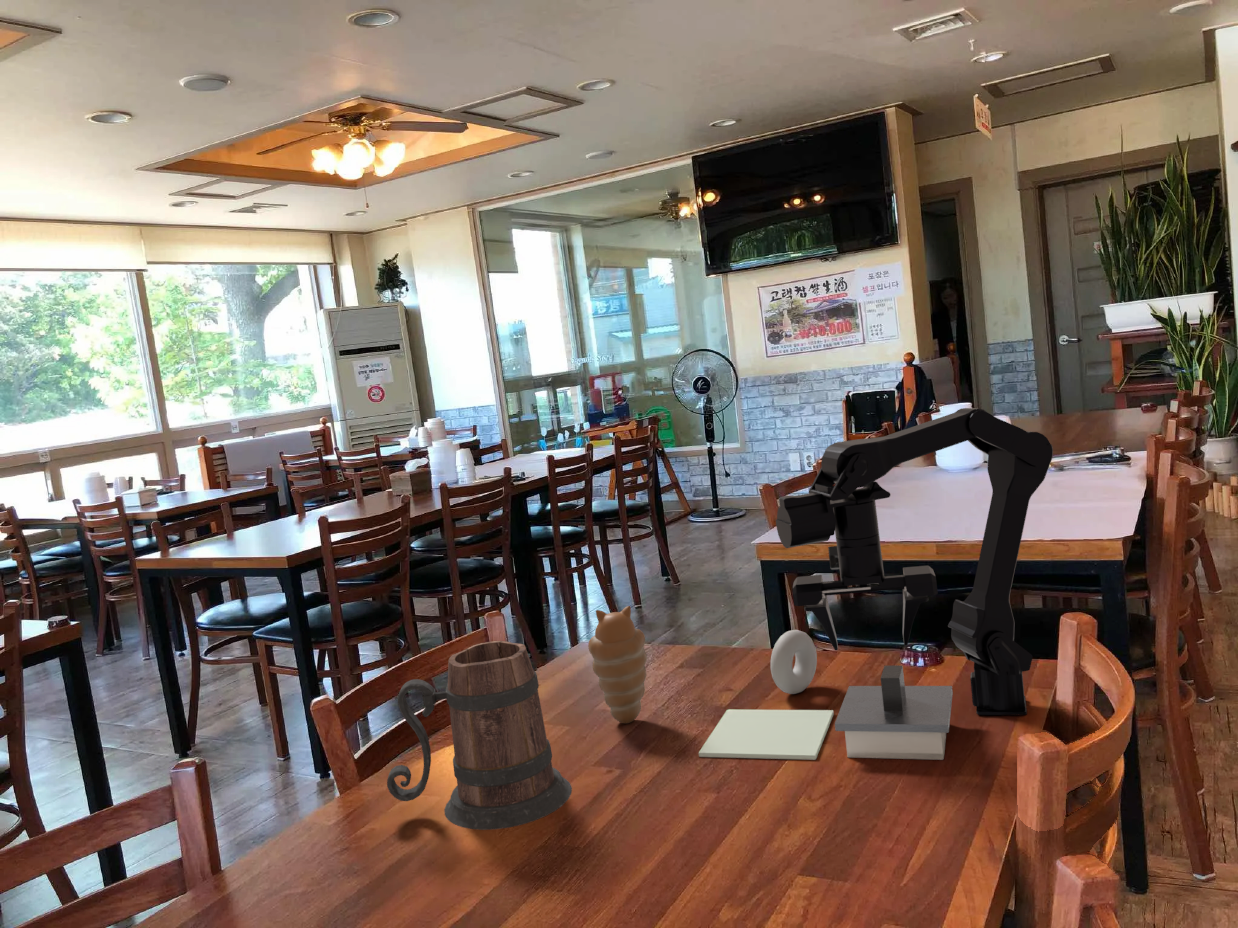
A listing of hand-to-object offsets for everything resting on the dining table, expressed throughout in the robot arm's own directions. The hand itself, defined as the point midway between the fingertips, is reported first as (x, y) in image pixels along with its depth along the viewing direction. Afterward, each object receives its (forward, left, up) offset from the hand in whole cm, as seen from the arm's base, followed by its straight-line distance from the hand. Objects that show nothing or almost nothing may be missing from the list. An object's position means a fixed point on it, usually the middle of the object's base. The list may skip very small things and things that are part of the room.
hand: (870, 646), depth 135 cm
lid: (-3, +2, -8) cm, 9 cm away
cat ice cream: (+38, -3, -12) cm, 40 cm away
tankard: (+48, +25, -12) cm, 56 cm away
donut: (+14, -16, -12) cm, 24 cm away
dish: (-3, +2, -12) cm, 13 cm away
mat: (+15, +1, -12) cm, 20 cm away
